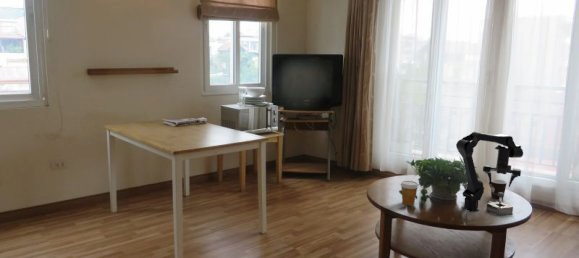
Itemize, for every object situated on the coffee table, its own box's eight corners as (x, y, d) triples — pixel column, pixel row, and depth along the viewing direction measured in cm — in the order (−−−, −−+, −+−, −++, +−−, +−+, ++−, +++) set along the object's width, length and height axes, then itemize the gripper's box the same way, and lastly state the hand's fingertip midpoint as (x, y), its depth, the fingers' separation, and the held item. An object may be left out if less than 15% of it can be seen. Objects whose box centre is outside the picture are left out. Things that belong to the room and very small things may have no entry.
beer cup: (418, 202, 265) (419, 182, 263) (415, 207, 257) (416, 186, 255) (401, 200, 269) (402, 179, 267) (397, 204, 261) (399, 183, 259)
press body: (498, 215, 247) (499, 208, 246) (482, 208, 258) (483, 201, 257) (512, 214, 250) (513, 207, 249) (496, 207, 261) (496, 200, 260)
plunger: (499, 207, 250) (500, 194, 249) (495, 205, 253) (496, 192, 252) (504, 206, 251) (505, 193, 250) (500, 204, 254) (501, 192, 252)
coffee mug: (506, 200, 272) (508, 184, 271) (490, 199, 274) (492, 182, 272) (502, 195, 283) (503, 178, 282) (486, 193, 285) (488, 177, 283)
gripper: (483, 158, 253) (480, 186, 255) (522, 163, 245) (518, 192, 248) (484, 154, 263) (481, 181, 265) (522, 159, 255) (518, 187, 258)
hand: (499, 185), depth 259 cm, fingers open, 9 cm apart
